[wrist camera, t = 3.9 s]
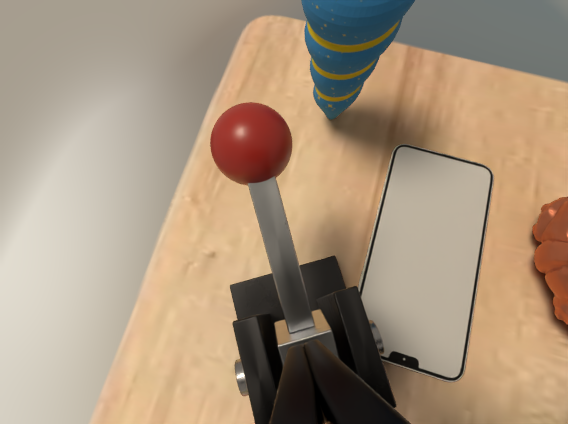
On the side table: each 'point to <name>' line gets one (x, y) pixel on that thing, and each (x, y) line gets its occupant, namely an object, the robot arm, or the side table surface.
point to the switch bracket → (267, 310)
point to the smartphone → (427, 259)
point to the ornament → (347, 45)
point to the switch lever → (270, 212)
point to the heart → (554, 252)
